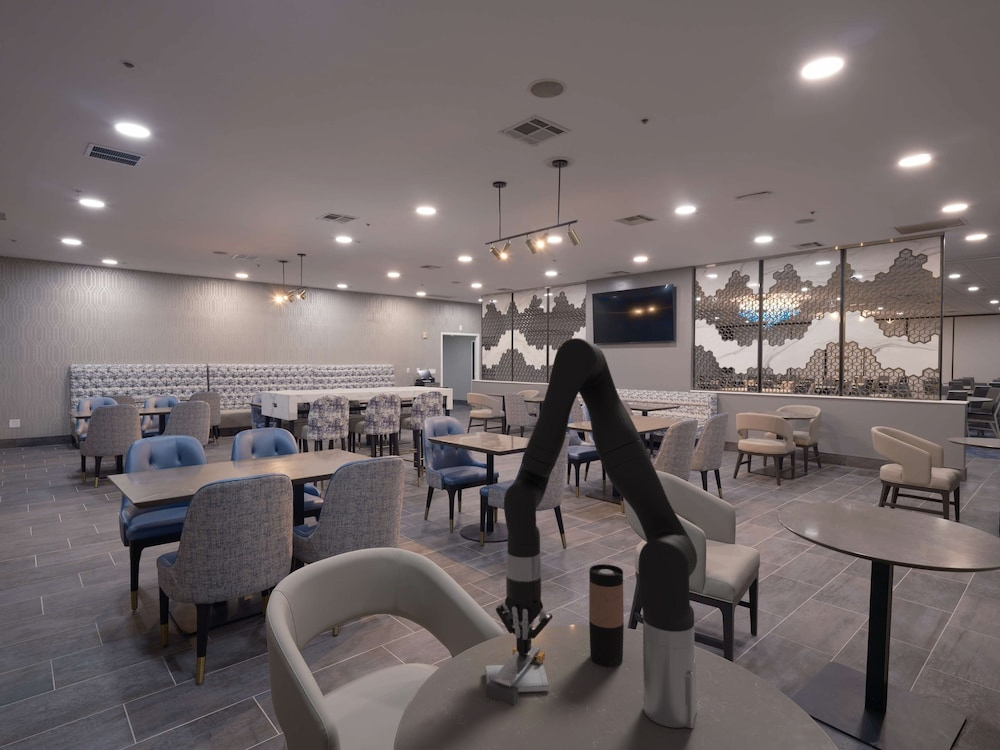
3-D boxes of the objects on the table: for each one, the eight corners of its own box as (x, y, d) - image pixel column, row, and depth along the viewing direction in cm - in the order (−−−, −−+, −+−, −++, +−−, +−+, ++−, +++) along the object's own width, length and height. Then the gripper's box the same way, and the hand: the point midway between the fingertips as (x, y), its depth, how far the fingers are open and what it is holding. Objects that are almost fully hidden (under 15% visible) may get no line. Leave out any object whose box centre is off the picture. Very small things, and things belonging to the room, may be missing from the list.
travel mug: (583, 653, 122) (583, 566, 123) (613, 648, 124) (612, 562, 125) (599, 670, 115) (599, 577, 115) (630, 664, 117) (629, 573, 118)
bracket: (544, 670, 115) (544, 652, 115) (515, 706, 102) (515, 686, 102) (516, 662, 118) (516, 645, 118) (484, 696, 105) (484, 677, 105)
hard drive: (487, 686, 106) (548, 683, 106) (485, 664, 114) (542, 662, 115) (487, 694, 106) (549, 692, 106) (485, 672, 114) (542, 670, 115)
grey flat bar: (540, 655, 116) (540, 646, 116) (510, 693, 103) (510, 683, 103) (523, 651, 118) (523, 642, 118) (492, 688, 105) (492, 678, 105)
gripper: (558, 572, 114) (558, 653, 114) (504, 563, 120) (504, 639, 120) (545, 584, 108) (545, 670, 108) (488, 573, 114) (488, 654, 114)
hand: (523, 654), depth 114 cm, fingers closed
